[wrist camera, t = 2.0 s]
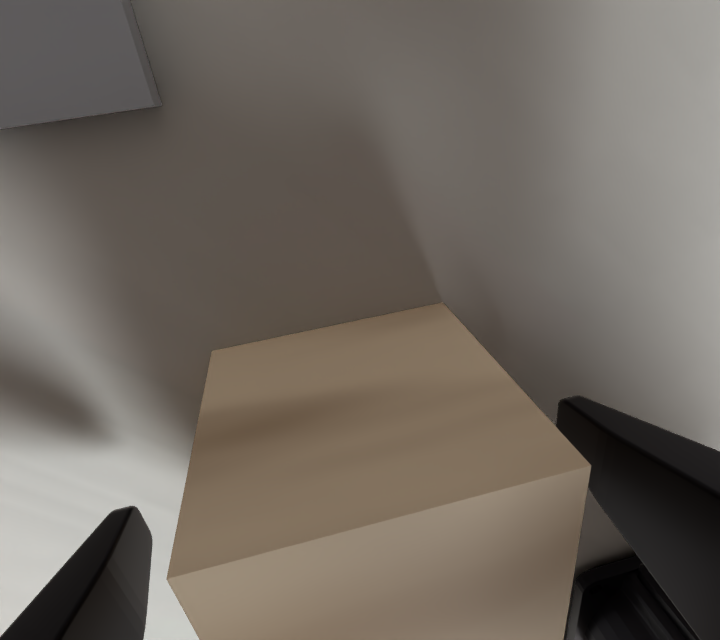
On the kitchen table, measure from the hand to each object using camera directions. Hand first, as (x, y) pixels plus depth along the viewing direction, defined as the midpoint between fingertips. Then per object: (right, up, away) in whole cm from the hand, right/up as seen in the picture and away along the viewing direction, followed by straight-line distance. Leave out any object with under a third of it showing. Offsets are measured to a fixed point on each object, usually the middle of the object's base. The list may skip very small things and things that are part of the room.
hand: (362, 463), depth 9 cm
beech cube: (0, +1, +1) cm, 2 cm away
